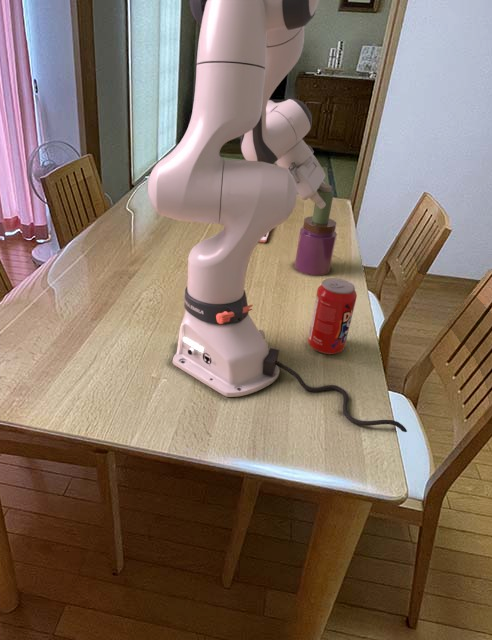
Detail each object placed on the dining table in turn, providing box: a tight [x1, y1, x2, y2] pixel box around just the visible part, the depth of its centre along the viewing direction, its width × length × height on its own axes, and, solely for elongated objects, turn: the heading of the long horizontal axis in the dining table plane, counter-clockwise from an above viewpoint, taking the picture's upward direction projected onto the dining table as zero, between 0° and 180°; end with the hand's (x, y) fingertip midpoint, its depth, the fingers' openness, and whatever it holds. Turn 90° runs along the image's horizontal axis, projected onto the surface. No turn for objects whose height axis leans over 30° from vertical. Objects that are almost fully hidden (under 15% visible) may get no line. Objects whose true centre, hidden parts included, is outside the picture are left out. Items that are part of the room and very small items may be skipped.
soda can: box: [307, 277, 358, 355], centre depth 101 cm, size 8×8×15 cm
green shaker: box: [312, 184, 335, 224], centre depth 130 cm, size 4×4×10 cm
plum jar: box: [294, 215, 338, 276], centre depth 136 cm, size 10×10×14 cm
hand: (326, 202), depth 130 cm, fingers open, 8 cm apart
